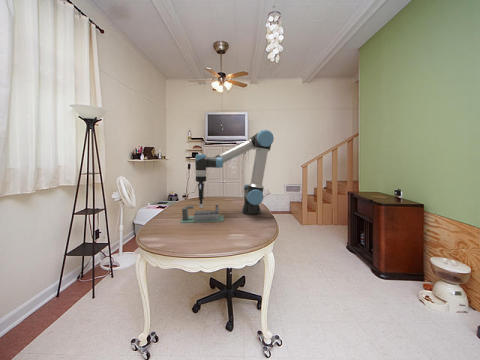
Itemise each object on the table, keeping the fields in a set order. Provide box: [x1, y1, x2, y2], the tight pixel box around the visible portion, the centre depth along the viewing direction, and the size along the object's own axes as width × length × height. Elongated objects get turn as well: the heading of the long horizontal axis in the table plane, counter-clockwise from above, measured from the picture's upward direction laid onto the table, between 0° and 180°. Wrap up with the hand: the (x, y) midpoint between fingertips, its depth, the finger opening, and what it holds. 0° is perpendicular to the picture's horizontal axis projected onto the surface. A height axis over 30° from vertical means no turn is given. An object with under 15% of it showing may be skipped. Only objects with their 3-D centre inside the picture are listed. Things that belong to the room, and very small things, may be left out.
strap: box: [194, 206, 216, 211], centre depth 152 cm, size 17×4×1 cm, turn 95°
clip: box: [181, 205, 195, 220], centre depth 151 cm, size 7×6×9 cm
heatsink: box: [193, 204, 220, 221], centre depth 153 cm, size 17×11×9 cm, turn 95°
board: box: [179, 214, 224, 224], centre depth 153 cm, size 30×13×1 cm, turn 95°
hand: (201, 208), depth 152 cm, fingers closed
